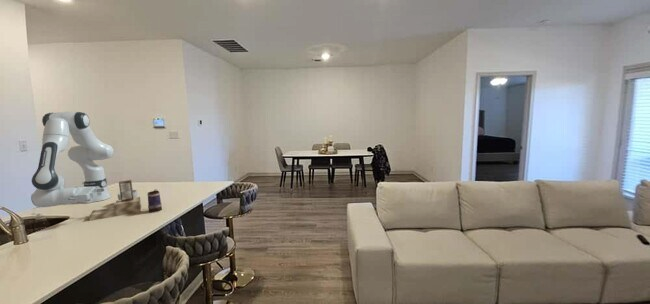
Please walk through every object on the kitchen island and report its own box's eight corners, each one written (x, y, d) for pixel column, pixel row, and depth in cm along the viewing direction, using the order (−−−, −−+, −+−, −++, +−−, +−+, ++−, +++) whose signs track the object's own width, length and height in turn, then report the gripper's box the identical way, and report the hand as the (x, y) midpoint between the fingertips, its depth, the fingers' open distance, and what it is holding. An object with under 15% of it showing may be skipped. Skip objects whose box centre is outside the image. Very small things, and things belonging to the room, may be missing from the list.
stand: (90, 220, 162) (88, 208, 161) (93, 215, 171) (92, 203, 170) (140, 212, 174) (138, 200, 173) (141, 207, 182) (140, 196, 181)
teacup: (131, 205, 187) (129, 193, 186) (114, 206, 187) (112, 194, 186) (144, 199, 201) (143, 188, 200) (129, 199, 201) (127, 188, 200)
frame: (121, 202, 171) (118, 182, 170) (122, 200, 174) (119, 181, 173) (133, 200, 174) (130, 181, 173) (133, 199, 177) (131, 180, 175)
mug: (160, 211, 173) (157, 192, 171) (147, 213, 171) (144, 193, 170) (165, 206, 183) (163, 188, 181) (152, 207, 181) (150, 189, 180)
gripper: (65, 194, 151) (98, 190, 158) (75, 186, 169) (104, 182, 176) (67, 205, 152) (100, 201, 159) (77, 196, 170) (106, 192, 177)
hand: (102, 191), depth 168 cm, fingers open, 8 cm apart
